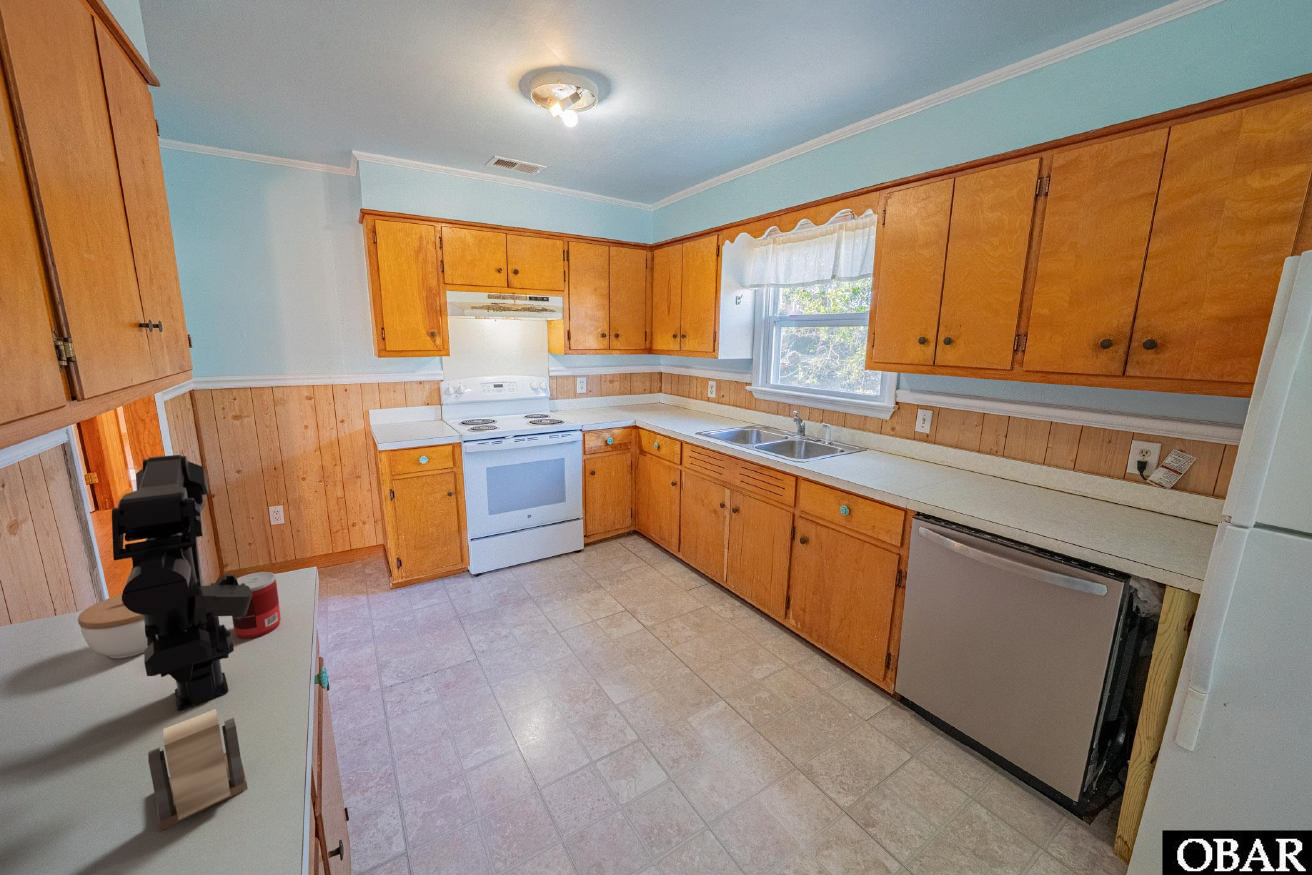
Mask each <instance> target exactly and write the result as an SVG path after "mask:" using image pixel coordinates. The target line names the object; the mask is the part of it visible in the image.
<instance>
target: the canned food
mask: <svg viewBox="0 0 1312 875" xmlns="http://www.w3.org/2000/svg"><path fill="white" fill-rule="evenodd" d="M236 578H237V577H236ZM276 579H277V577H276V575H275V574H274V573H273V572H269V571H260V572H252V573H248V574H246V575H242V576H240V577H238V578H237V581H238V584H239V585H241V583H245V585H246V586H249V587H250V590H251V592H252V597H251V600H250V603H249V607H248V610H247V613H246V615H245V616H242V617H234V616H231V617H232V623H233V630H234V634H235V635H236V637H237V638H240V639H255V638H259V637H261V636H262V637H263V636H265V635H267V634H269V633H271V632H273V631H274V630H275V629H277V628H278V627H279V626H280V623H281V619H282V617H281V610H280V609H281V608H280V603H279V602H280V601H279V593H278V592H279V591H278V585H277V584H278V583H277V580H276Z"/></svg>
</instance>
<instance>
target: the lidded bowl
mask: <svg viewBox="0 0 1312 875" xmlns="http://www.w3.org/2000/svg"><path fill="white" fill-rule="evenodd" d="M77 622H78V625H79V626H80V629H81V634H82V638H83V639H84V641H85V642H86V644H87V645H88V646H89V648H90V649H92V650H93V651H94V652H96V653H97V654H99V655H104V656H107V657H109V658H111V659H114V660H115V659H116V660H117V659H118V660H119V659H125V658H131V657H135V656H138V655H141V654H144V651H145V650H146V649H147V648H148V645H147V638H146V634H145V623H144V617H143V615H141V614H137V613H134V612H132V611H130V610H128V609H127V608H126V607H125V606H124V604H123V601H122V594H119V595H118V594H117V595H115V596H113V597H109V598H107V599H104V600H101V601H98V602H97V603H95V604H92V605H89V607H87V608H85V609H84V610H83V611H82V612H80V613H79V615H78V617H77Z"/></svg>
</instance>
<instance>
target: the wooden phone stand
mask: <svg viewBox="0 0 1312 875" xmlns="http://www.w3.org/2000/svg"><path fill="white" fill-rule="evenodd" d="M223 723H224V725H222V726H221V730H222V734H223V742H224V748H225V749H224V750H225V752H224V758H225V764H226V770H227V776H228V783H229V789H230V796H228V797H226V798H224V799H221V800H219V801H217V802H215V803H213V804H211V805H209V806H207V807H205V808H203V809H201V810H199V811H197V812H195V813H193V814H190V815H188V816H186V817H184V818H182V819H180V820H178V815H177V810H176V805H175V799H174V794H173V789H172V784H171V778H170V775H169V770H168V764H167V759H166V754H165V749H163V750H161V749H160V747H156V748H154V749H151V750H149V751H147V757H148V759H147V760H148V767H149V771H150V777H151V781H152V782H151V783H152V786H153V790H154V797H155V801H156V805H157V806H156V808H157V824H158V829H159V832H162V831H164V830H165V829H168V828H170V827H172V826H174V825H176V824H178V823H179V822H181V821H184V820H186V819H188V818H190V817H192V816H195V815H196V814H199V813H201V812H202V811H205V810H207V809H209V808H211V807H213V806H215V805H217V804H219V803H221V802H223V801H225V800H227V799H229V798H231V797H233V796H235V795H238V794H240V793H242V792H244V791H246V790H248V782H247V778H246V774H245V770H244V765H243V761H242V758H241V750H240V744H239V737H238V731H237V726H236V725H237V724H236V721H235V717H231V718H229V719H227V720H224V722H223Z"/></svg>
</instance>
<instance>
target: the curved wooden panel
mask: <svg viewBox="0 0 1312 875" xmlns="http://www.w3.org/2000/svg"><path fill="white" fill-rule="evenodd" d="M220 728H221V727H220V721H219V718H218V712H217V709H216V708H215V709H212V710H209V711H207V712H204V713H202V714H199V715H196V716H194V717H191V718H188V719H186V720H183V721H180V722H178V723H176V724H173V725H170V726H168V727H165V728H163V729H162V730H163V732H162V734H163V746H164V753H165V758H166V763H167V769H168V774H169V777H170V778H171V784H172V789H173V794H174V799H175V805H176V810H177V815H178V820H180V819H182V818H184V817H186V816H188V815H190V814H193V813H195V812H197V811H199V810H201V809H203V808H205V807H207V806H209V805H211V804H213V803H215V802H217V801H219V800H221V799H224V798H226V797H228V796H230V789H229V783H228V776H227V770H226V764H225V758H224V753H225V752H224V748H223V742H222V741H223V740H222V735H221V729H220Z"/></svg>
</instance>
